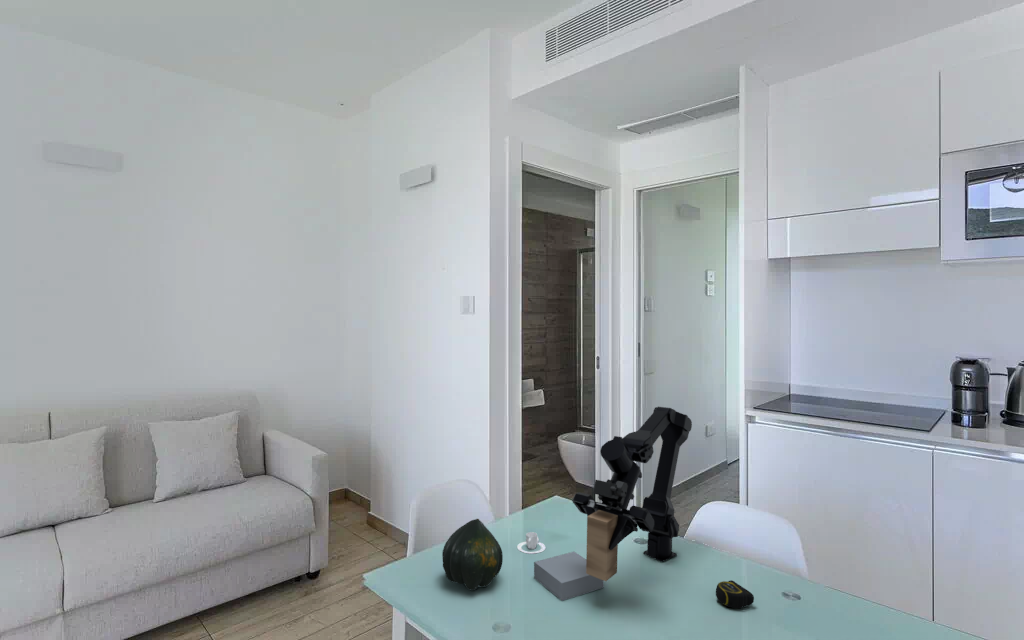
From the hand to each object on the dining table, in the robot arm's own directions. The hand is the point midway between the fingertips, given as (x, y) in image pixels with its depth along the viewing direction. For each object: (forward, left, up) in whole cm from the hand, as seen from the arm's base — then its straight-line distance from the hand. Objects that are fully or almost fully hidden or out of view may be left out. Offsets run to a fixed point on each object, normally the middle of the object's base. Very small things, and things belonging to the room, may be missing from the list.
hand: (599, 545), depth 118 cm
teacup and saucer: (-10, -32, -14) cm, 36 cm away
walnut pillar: (-1, -1, -7) cm, 7 cm away
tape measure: (-26, +17, -14) cm, 34 cm away
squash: (+16, -27, -14) cm, 34 cm away
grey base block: (-2, -12, -13) cm, 18 cm away
